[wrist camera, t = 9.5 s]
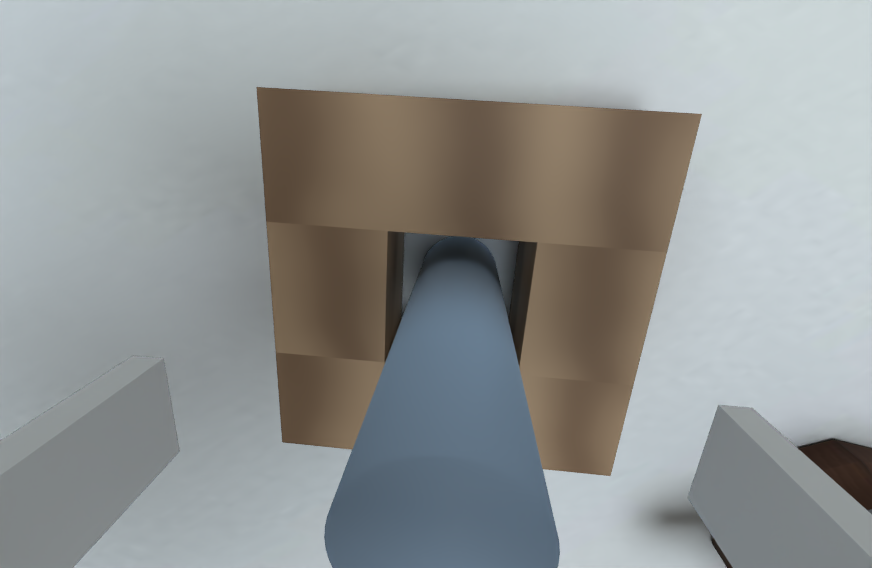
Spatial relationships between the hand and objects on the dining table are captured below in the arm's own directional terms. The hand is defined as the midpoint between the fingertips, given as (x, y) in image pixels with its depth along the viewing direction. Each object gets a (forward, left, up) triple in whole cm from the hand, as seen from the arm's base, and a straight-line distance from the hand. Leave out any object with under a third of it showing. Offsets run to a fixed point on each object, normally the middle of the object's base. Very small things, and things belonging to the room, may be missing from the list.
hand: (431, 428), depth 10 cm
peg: (0, 0, -13) cm, 13 cm away
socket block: (0, 0, -13) cm, 13 cm away
